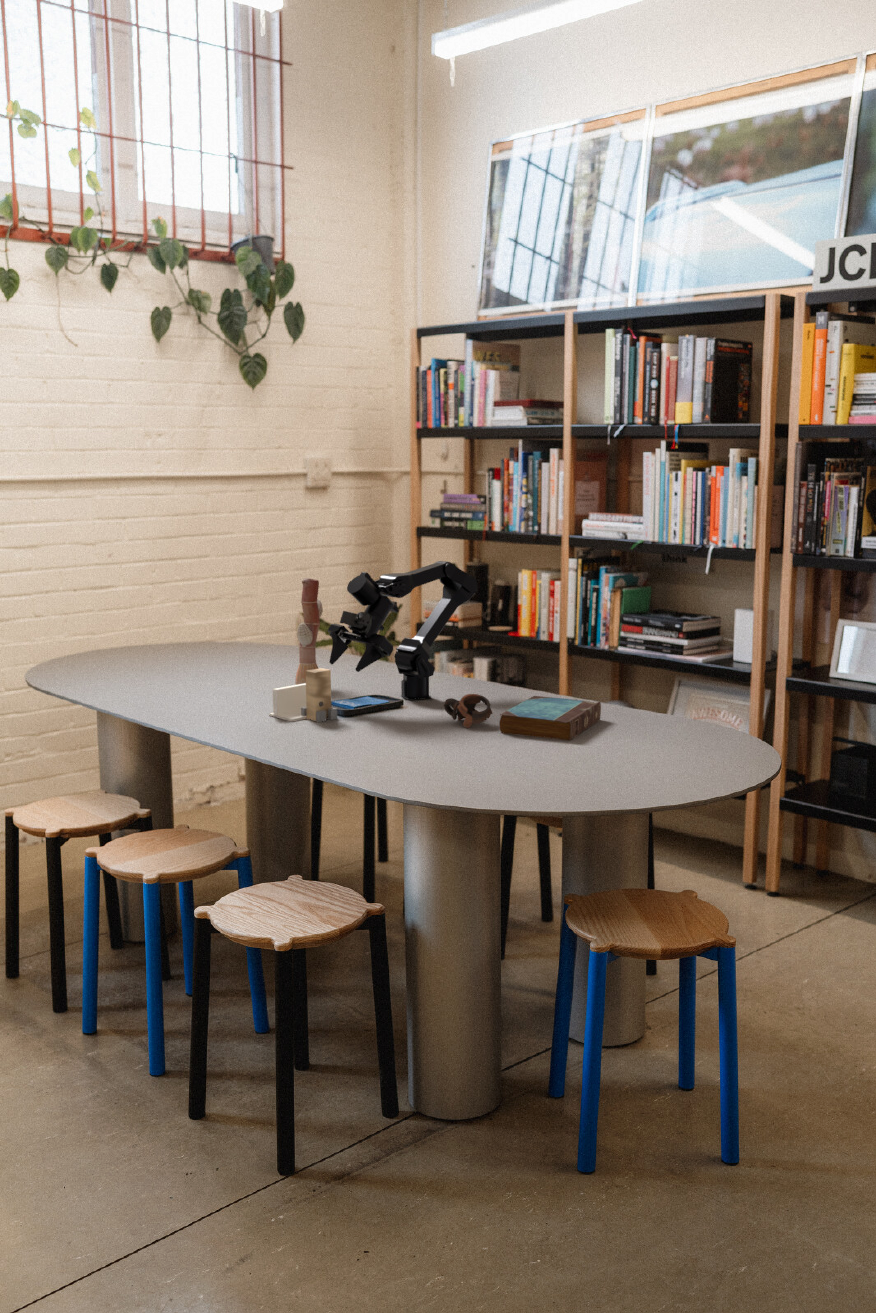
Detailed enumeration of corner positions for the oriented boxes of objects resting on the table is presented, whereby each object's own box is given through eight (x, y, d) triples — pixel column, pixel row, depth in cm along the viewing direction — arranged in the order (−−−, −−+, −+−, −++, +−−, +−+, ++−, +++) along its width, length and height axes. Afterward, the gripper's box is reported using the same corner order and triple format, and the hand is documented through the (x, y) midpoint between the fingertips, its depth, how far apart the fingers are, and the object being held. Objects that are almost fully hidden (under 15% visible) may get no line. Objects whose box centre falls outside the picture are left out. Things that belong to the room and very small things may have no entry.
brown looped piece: (492, 721, 289) (497, 696, 283) (482, 745, 281) (488, 720, 276) (445, 707, 290) (450, 682, 285) (434, 731, 283) (439, 706, 278)
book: (570, 743, 267) (570, 721, 266) (498, 735, 274) (498, 714, 273) (600, 721, 287) (601, 701, 286) (532, 715, 294) (533, 695, 293)
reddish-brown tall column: (305, 689, 325) (302, 581, 319) (288, 685, 330) (285, 579, 324) (333, 683, 332) (331, 577, 327) (316, 680, 337) (314, 575, 332)
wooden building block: (322, 715, 293) (321, 668, 291) (332, 717, 291) (331, 670, 288) (306, 718, 290) (305, 670, 288) (316, 721, 287) (315, 672, 285)
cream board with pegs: (313, 706, 303) (312, 680, 302) (350, 715, 293) (349, 688, 291) (269, 715, 293) (268, 688, 292) (305, 725, 283) (305, 696, 282)
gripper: (332, 592, 299) (300, 642, 294) (385, 604, 288) (354, 657, 283) (354, 617, 307) (323, 666, 302) (407, 629, 296) (376, 681, 291)
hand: (343, 667), depth 294 cm, fingers open, 9 cm apart
